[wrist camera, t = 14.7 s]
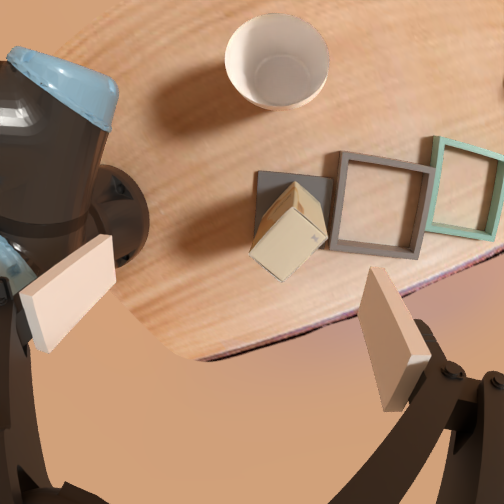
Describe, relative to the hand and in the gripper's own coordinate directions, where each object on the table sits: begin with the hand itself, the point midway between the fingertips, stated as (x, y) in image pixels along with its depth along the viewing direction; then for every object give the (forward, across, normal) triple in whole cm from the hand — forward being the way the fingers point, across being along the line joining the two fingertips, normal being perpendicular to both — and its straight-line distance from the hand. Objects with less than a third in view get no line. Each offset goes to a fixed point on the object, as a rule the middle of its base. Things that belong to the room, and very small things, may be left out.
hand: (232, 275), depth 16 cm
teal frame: (+25, +26, +4) cm, 36 cm away
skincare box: (+25, +3, -3) cm, 25 cm away
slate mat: (+25, +3, -3) cm, 26 cm away
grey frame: (+25, +14, -1) cm, 29 cm away
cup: (+26, +1, +13) cm, 29 cm away
